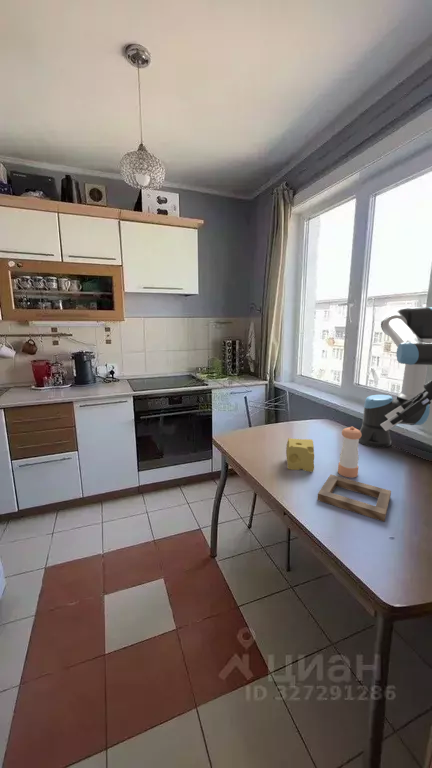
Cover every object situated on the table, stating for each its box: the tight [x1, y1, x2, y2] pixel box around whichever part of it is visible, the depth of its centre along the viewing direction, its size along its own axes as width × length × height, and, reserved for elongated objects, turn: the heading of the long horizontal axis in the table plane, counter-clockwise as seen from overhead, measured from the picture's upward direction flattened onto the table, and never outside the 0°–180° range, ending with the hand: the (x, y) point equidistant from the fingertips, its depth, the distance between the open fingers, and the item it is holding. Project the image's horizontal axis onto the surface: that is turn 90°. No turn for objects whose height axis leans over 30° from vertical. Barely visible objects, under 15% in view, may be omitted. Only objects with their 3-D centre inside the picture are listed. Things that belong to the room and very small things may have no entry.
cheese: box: [285, 437, 315, 473], centre depth 129 cm, size 10×11×10 cm
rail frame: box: [317, 474, 392, 523], centre depth 106 cm, size 20×16×2 cm
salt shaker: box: [337, 426, 362, 478], centre depth 122 cm, size 7×7×19 cm
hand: (385, 422), depth 114 cm, fingers open, 13 cm apart
